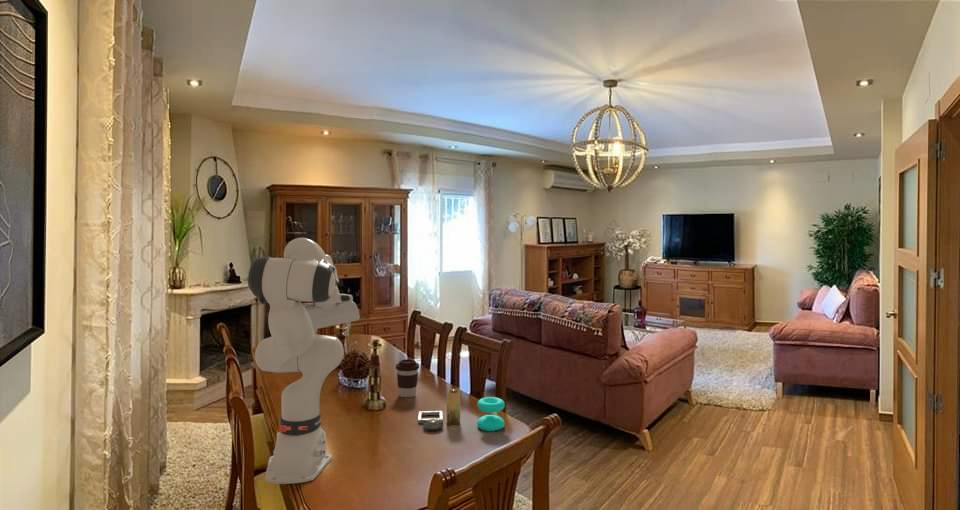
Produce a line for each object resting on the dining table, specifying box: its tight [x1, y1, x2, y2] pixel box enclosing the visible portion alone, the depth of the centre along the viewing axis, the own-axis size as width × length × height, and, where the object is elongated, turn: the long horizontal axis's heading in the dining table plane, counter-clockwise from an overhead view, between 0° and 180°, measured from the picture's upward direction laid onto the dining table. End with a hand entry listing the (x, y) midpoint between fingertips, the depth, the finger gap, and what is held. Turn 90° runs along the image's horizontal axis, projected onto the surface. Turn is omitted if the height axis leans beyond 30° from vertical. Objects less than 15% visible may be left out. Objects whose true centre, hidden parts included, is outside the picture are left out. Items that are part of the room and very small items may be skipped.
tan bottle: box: [446, 388, 461, 426], centre depth 193 cm, size 5×5×13 cm
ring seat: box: [417, 410, 444, 425], centre depth 198 cm, size 9×9×1 cm
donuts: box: [476, 396, 506, 432], centre depth 190 cm, size 10×10×10 cm
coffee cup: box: [395, 358, 420, 399], centre depth 225 cm, size 10×10×15 cm
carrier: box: [422, 417, 444, 433], centre depth 191 cm, size 12×7×2 cm, turn 5°
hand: (333, 338), depth 185 cm, fingers open, 8 cm apart
